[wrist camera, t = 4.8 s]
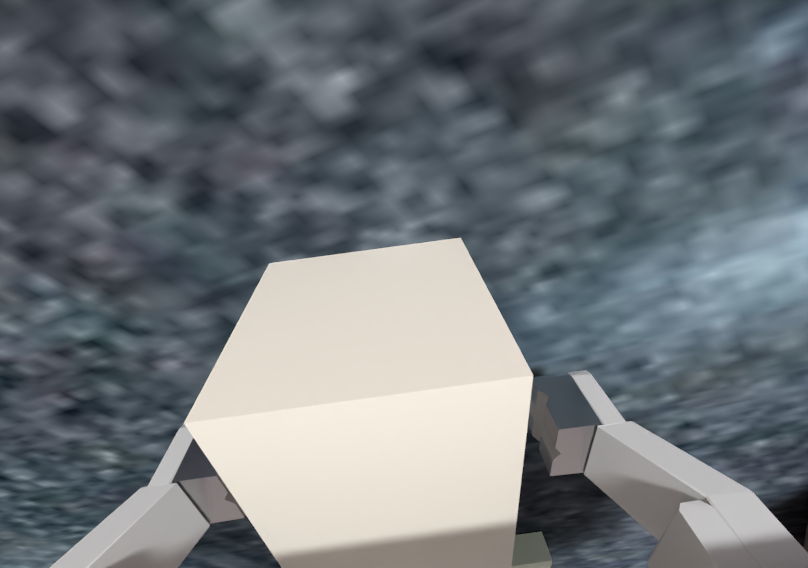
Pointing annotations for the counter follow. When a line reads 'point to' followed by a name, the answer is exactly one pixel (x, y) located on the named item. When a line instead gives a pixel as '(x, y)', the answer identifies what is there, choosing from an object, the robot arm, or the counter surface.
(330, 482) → the cream brick
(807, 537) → the ceramic bowl
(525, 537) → the peach layered block
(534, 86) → the counter surface
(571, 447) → the robot arm
